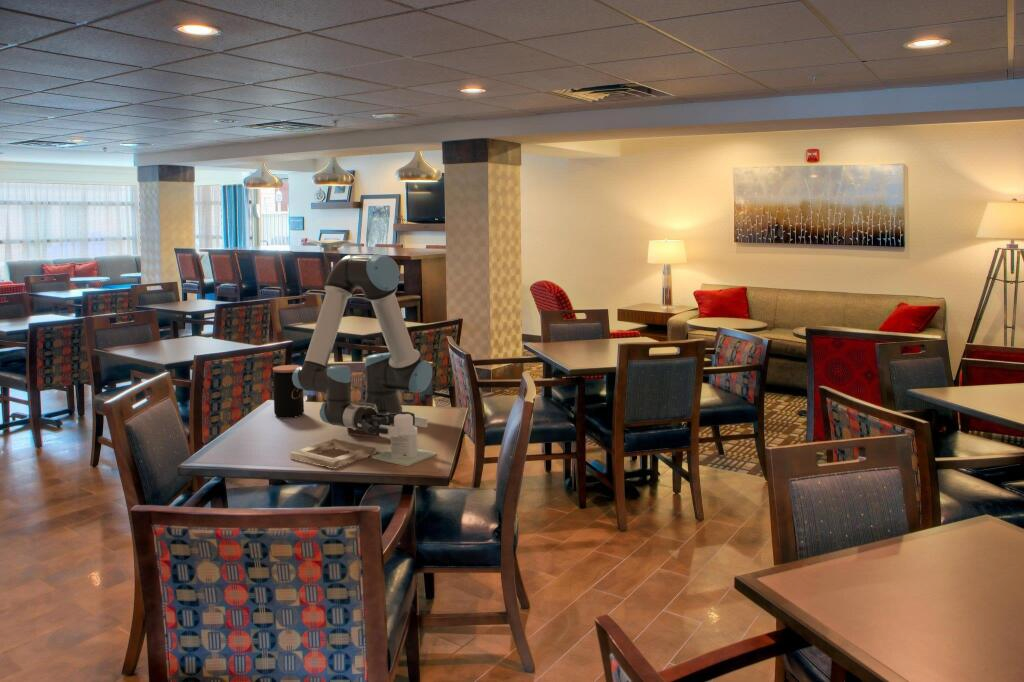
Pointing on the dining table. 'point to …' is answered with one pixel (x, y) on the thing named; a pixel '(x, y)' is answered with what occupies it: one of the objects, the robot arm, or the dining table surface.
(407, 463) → the pad
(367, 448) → the square picture frame
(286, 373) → the coffee jar
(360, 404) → the food container
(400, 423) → the container
